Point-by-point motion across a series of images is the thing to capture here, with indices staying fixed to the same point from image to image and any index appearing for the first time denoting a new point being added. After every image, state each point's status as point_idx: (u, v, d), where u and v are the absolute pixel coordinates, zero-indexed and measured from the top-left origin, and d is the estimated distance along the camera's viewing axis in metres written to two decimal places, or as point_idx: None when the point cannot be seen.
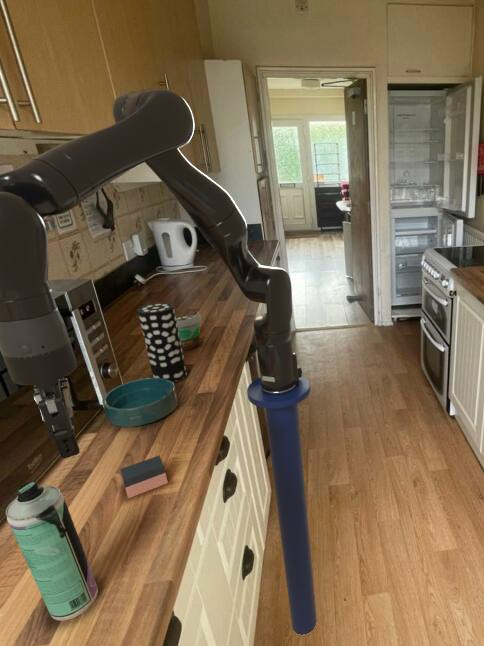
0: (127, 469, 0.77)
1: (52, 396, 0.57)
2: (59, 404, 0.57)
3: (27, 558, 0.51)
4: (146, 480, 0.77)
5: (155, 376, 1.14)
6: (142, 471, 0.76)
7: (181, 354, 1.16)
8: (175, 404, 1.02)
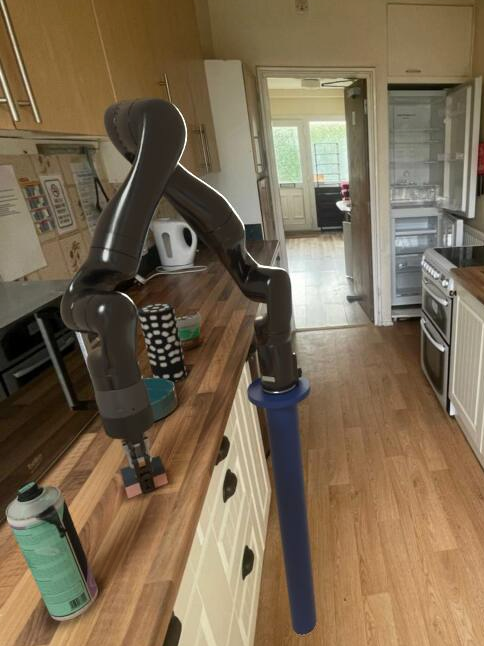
0: (127, 469, 0.77)
1: (140, 452, 0.71)
2: (147, 461, 0.71)
3: (27, 558, 0.51)
4: None
5: (155, 376, 1.14)
6: None
7: (181, 354, 1.16)
8: (175, 404, 1.02)
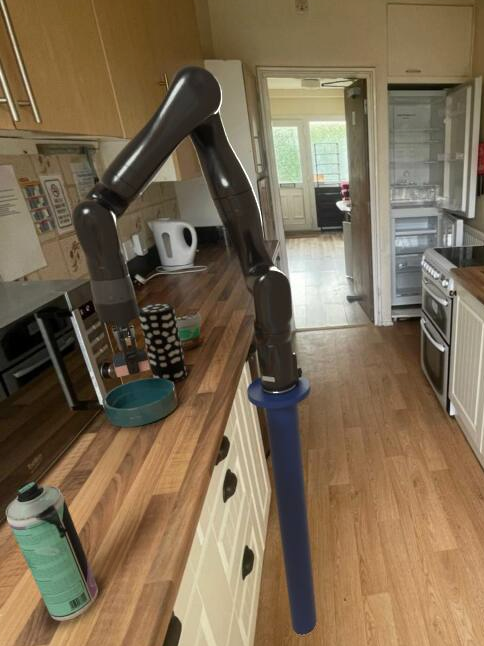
0: (117, 355, 0.95)
1: (127, 334, 0.89)
2: (133, 341, 0.89)
3: (27, 558, 0.51)
4: None
5: (155, 376, 1.14)
6: None
7: (181, 354, 1.16)
8: (175, 404, 1.02)
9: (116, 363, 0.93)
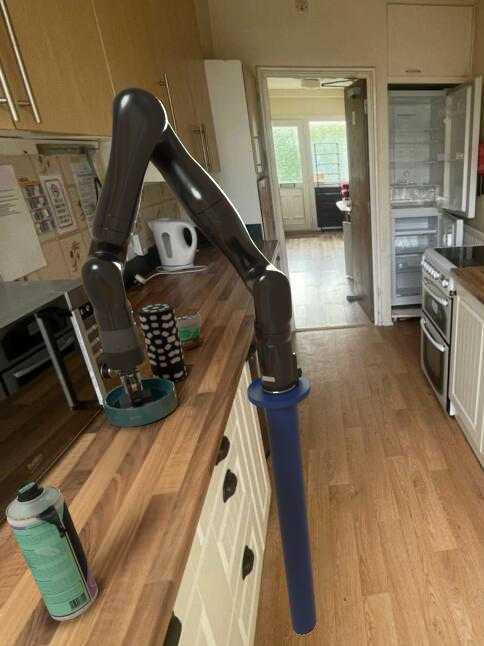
0: (123, 397, 0.99)
1: (133, 380, 0.93)
2: (139, 387, 0.93)
3: (27, 558, 0.51)
4: None
5: (155, 376, 1.14)
6: None
7: (181, 354, 1.16)
8: (175, 404, 1.02)
9: (123, 406, 0.97)
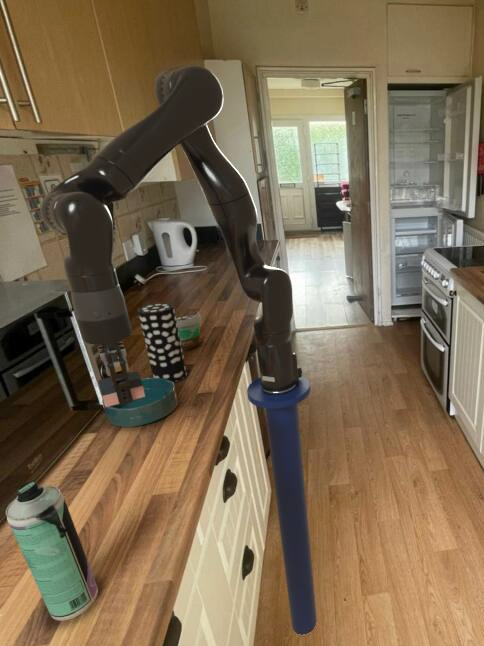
0: (105, 380, 0.79)
1: (116, 357, 0.73)
2: (123, 366, 0.73)
3: (27, 558, 0.51)
4: None
5: (155, 376, 1.14)
6: None
7: (181, 354, 1.16)
8: (175, 404, 1.02)
9: (103, 390, 0.76)
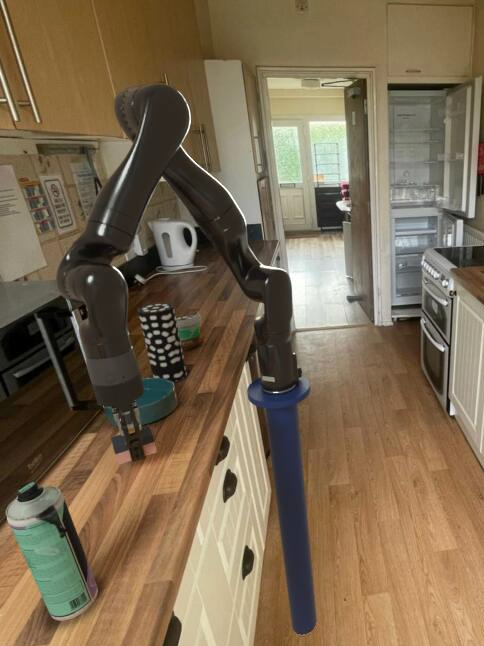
0: (117, 437, 0.80)
1: (130, 419, 0.74)
2: (137, 428, 0.74)
3: (27, 558, 0.51)
4: None
5: (155, 376, 1.14)
6: None
7: (181, 354, 1.16)
8: (175, 404, 1.02)
9: (117, 449, 0.78)
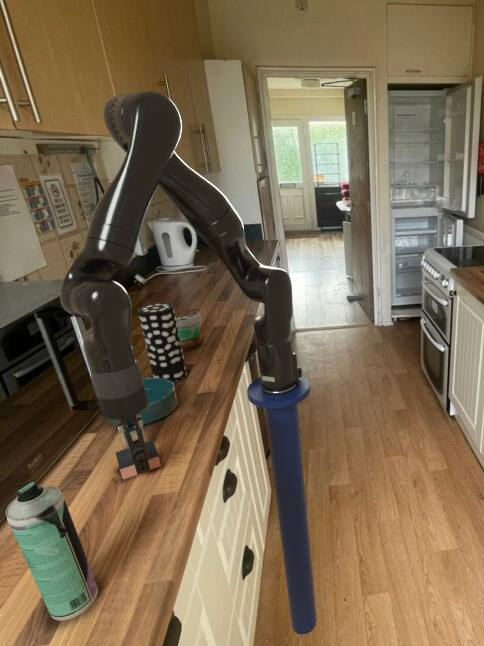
0: (122, 452, 0.81)
1: (133, 427, 0.75)
2: (139, 434, 0.74)
3: (27, 558, 0.51)
4: None
5: (155, 376, 1.14)
6: None
7: (181, 354, 1.16)
8: (175, 404, 1.02)
9: (121, 464, 0.79)
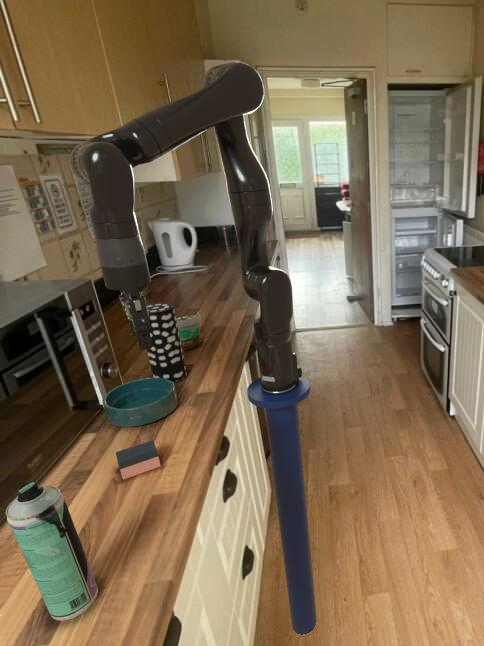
0: (122, 452, 0.81)
1: (137, 298, 0.77)
2: (143, 303, 0.76)
3: (27, 558, 0.51)
4: (140, 463, 0.81)
5: (155, 376, 1.14)
6: (136, 454, 0.81)
7: (181, 354, 1.16)
8: (175, 404, 1.02)
9: (121, 464, 0.79)
